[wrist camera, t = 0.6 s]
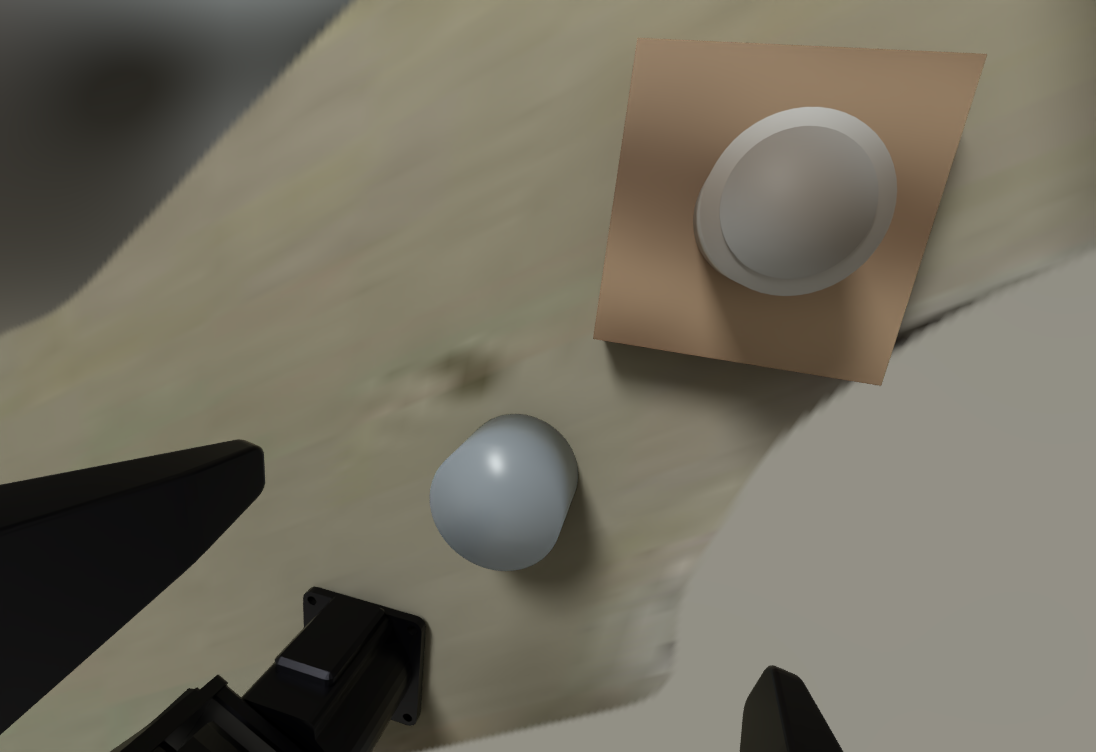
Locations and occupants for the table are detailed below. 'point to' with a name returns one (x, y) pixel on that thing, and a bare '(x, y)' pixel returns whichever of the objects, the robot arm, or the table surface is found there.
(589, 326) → the table surface
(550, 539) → the smooth rounded gray lump
